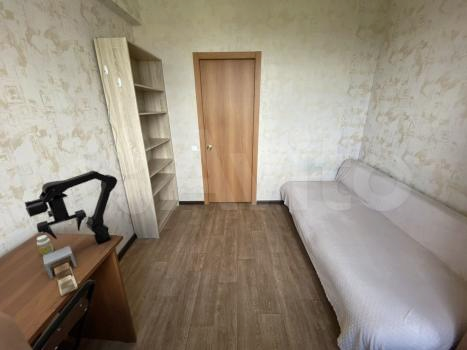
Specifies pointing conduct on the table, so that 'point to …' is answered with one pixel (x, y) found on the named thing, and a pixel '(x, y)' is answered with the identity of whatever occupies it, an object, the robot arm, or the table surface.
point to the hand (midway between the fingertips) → (67, 234)
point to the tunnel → (57, 258)
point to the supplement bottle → (44, 245)
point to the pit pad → (60, 260)
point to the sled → (65, 278)
